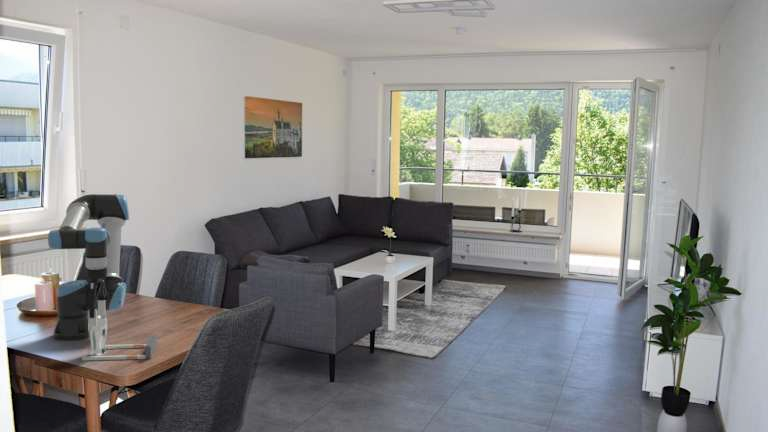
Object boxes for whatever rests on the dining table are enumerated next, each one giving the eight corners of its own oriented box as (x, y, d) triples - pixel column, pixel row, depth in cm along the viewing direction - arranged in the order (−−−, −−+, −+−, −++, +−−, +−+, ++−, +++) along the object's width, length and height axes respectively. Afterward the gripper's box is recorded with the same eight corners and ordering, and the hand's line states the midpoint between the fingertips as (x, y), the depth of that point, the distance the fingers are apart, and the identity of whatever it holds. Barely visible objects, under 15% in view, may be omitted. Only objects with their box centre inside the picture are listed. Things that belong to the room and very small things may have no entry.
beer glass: (110, 351, 256) (109, 314, 254) (103, 357, 249) (102, 319, 247) (93, 350, 255) (92, 314, 254) (85, 356, 248) (84, 319, 247)
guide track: (82, 360, 244) (82, 347, 244) (92, 348, 258) (92, 336, 258) (150, 358, 249) (150, 346, 248) (156, 346, 263) (156, 334, 262)
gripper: (98, 274, 236) (99, 329, 239) (114, 261, 261) (114, 312, 263) (76, 274, 235) (78, 330, 237) (94, 261, 259) (95, 312, 261)
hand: (97, 320), depth 250 cm, fingers open, 13 cm apart
